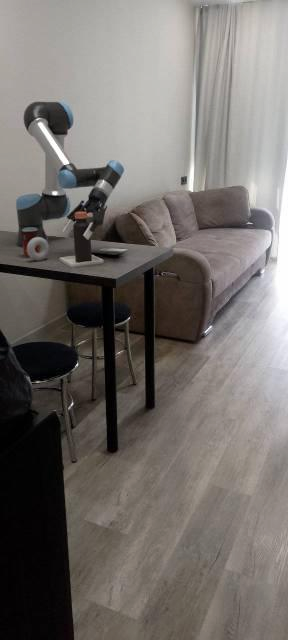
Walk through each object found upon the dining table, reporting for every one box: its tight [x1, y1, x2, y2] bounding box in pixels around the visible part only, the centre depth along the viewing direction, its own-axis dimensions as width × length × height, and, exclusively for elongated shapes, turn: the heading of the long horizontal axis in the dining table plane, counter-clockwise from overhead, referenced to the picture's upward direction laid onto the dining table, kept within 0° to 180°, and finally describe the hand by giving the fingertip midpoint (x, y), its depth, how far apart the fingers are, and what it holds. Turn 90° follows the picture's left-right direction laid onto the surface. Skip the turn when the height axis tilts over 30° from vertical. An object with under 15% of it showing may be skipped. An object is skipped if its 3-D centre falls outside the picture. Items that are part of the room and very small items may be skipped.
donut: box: [27, 237, 50, 261], centre depth 212 cm, size 10×4×10 cm, turn 128°
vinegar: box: [72, 212, 93, 263], centre depth 205 cm, size 7×7×20 cm
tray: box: [59, 254, 104, 269], centre depth 209 cm, size 14×14×2 cm
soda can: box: [22, 227, 41, 258], centre depth 220 cm, size 7×7×12 cm
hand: (74, 235), depth 204 cm, fingers open, 12 cm apart
